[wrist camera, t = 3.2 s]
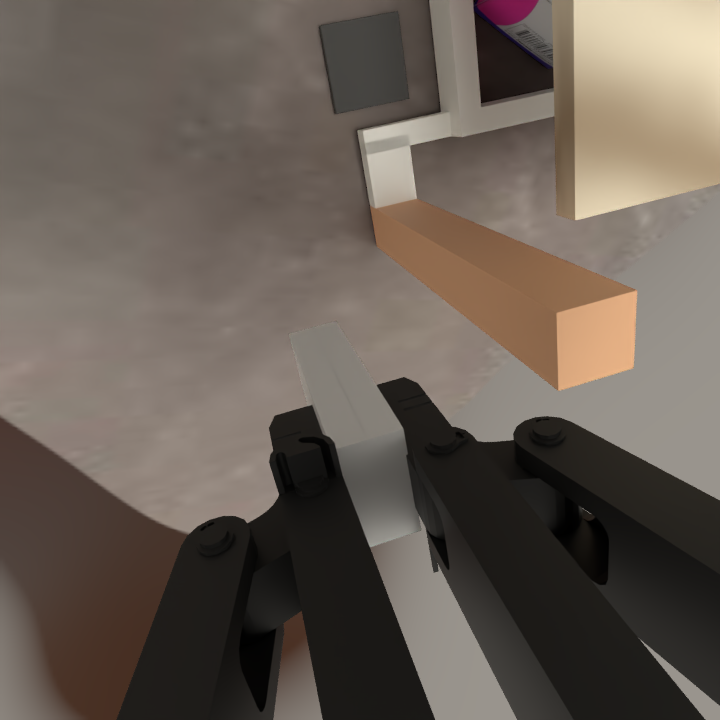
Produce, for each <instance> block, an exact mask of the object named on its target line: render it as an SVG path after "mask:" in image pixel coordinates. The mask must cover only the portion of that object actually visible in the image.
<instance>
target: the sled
mask: <svg viewBox="0 0 720 720" xmlns="http://www.w3.org/2000/svg"><path fill="white" fill-rule="evenodd" d="M429 4H430V13H431V23H432V32H433V41H434V51H435V60H436V70H437V79H438V89H439V98H440V107H441V112H439V113H435V114H430V115H425V116H421V117H416V118H412V119H407V120H402V121H398V122H393V123H388V124H384V125H379V126H374V127H370V128H365V129H361V130H357V132H358V138H359V144H360V150H361V156H362V162H363V167H364V173H365V179H366V185H367V191H368V197H369V203H370V209H371V214H372V220H373V226H374V232H375V238H376V244H377V247H378V248H380V249H381V250H382V251H383V252H385V253H386V254H387V255H388V256H390V257H391V258H392V259H393V260H395V261H396V262H397V263H398V264H400V265H401V266H402V267H403V268H405V269H406V270H407V271H408V272H410V273H411V274H412V275H413V276H415V277H416V278H417V279H418V280H420V281H421V282H422V283H424V284H425V285H426V286H427V287H429V288H430V289H431V290H432V291H434V292H435V293H436V294H437V295H439V296H440V297H441V298H442V299H444V300H445V301H446V302H447V303H449V304H450V305H451V306H452V307H454V308H455V309H456V310H457V311H459V312H460V313H461V314H462V315H464V316H465V317H466V318H467V319H469V320H470V321H471V322H472V323H474V324H475V325H476V326H477V327H479V328H480V329H481V330H482V331H484V332H485V333H486V334H488V335H489V336H490V337H491V338H493V339H494V340H495V341H496V342H498V343H499V344H500V345H501V346H503V347H504V348H505V349H506V350H508V351H509V352H510V353H511V354H513V355H514V356H515V357H516V358H518V359H519V360H520V361H521V362H523V363H524V364H525V365H526V366H528V367H529V368H530V369H531V370H533V371H534V372H535V373H536V374H538V375H539V376H540V377H541V378H543V379H544V380H545V381H547V382H548V383H549V384H550V385H552V386H553V387H554V388H555V389H557V390H558V391H560V390H563V389H567V388H570V387H573V386H576V385H579V384H583V383H586V382H590V381H593V380H596V379H600V378H603V377H606V376H609V375H613V374H616V373H619V372H623V371H626V370H629V369H633V368H634V349H635V327H636V305H637V303H636V302H637V290H635V289H633V288H630V287H628V286H625V285H623V284H621V283H618V282H616V281H614V280H611V279H609V278H606V277H604V276H602V275H599V274H597V273H594V272H592V271H589V270H587V269H585V268H582V267H580V266H577V265H575V264H573V263H570V262H568V261H565V260H563V259H561V258H558V257H556V256H553V255H551V254H549V253H546V252H544V251H541V250H539V249H537V248H534V247H532V246H529V245H527V244H525V243H522V242H520V241H517V240H515V239H512V238H510V237H508V236H505V235H503V234H500V233H498V232H496V231H493V230H491V229H488V228H486V227H484V226H481V225H479V224H476V223H474V222H472V221H469V220H467V219H464V218H462V217H460V216H457V215H455V214H452V213H450V212H448V211H445V210H443V209H440V208H438V207H435V206H433V205H431V204H428V203H426V202H423V201H421V200H419V199H417V196H416V189H415V181H414V174H413V166H412V159H411V151H410V145H415V144H419V143H424V142H428V141H433V140H437V139H442V138H446V137H450V136H455V137H465V136H469V135H474V134H478V133H482V132H487V131H491V130H496V129H500V128H505V127H509V126H514V125H518V124H523V123H527V122H532V121H536V120H540V119H545V118H549V117H554V88H550V89H546V90H541V91H537V92H532V93H527V94H523V95H518V96H513V97H509V98H504V99H499V100H495V101H490V102H486V103H481V99H480V85H479V72H478V59H477V46H476V33H475V20H474V6H473V0H429Z"/></svg>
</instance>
